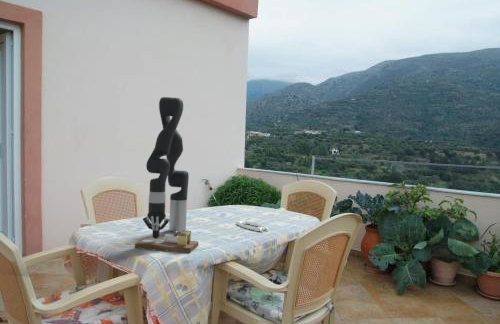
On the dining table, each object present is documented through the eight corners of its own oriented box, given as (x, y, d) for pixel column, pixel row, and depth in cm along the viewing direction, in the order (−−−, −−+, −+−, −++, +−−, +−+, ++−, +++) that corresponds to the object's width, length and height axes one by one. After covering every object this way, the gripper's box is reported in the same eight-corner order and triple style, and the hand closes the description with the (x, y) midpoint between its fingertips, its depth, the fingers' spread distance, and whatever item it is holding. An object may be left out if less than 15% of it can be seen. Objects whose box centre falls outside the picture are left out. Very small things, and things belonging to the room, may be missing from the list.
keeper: (182, 241, 164) (182, 230, 164) (190, 242, 164) (191, 231, 164) (177, 245, 157) (177, 233, 157) (185, 246, 157) (186, 234, 157)
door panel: (146, 241, 170) (146, 236, 170) (198, 245, 166) (198, 241, 166) (134, 247, 158) (135, 243, 158) (190, 252, 154) (190, 247, 154)
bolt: (166, 240, 163) (166, 229, 163) (187, 242, 162) (187, 231, 162) (163, 242, 160) (164, 231, 160) (184, 243, 159) (185, 232, 159)
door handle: (244, 223, 222) (271, 231, 203) (232, 225, 216) (258, 233, 197) (244, 219, 222) (271, 227, 203) (232, 220, 216) (258, 228, 197)
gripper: (173, 201, 165) (172, 237, 166) (146, 199, 167) (145, 235, 167) (167, 203, 157) (166, 241, 158) (140, 201, 159) (138, 239, 160)
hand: (155, 238), depth 163 cm, fingers closed
